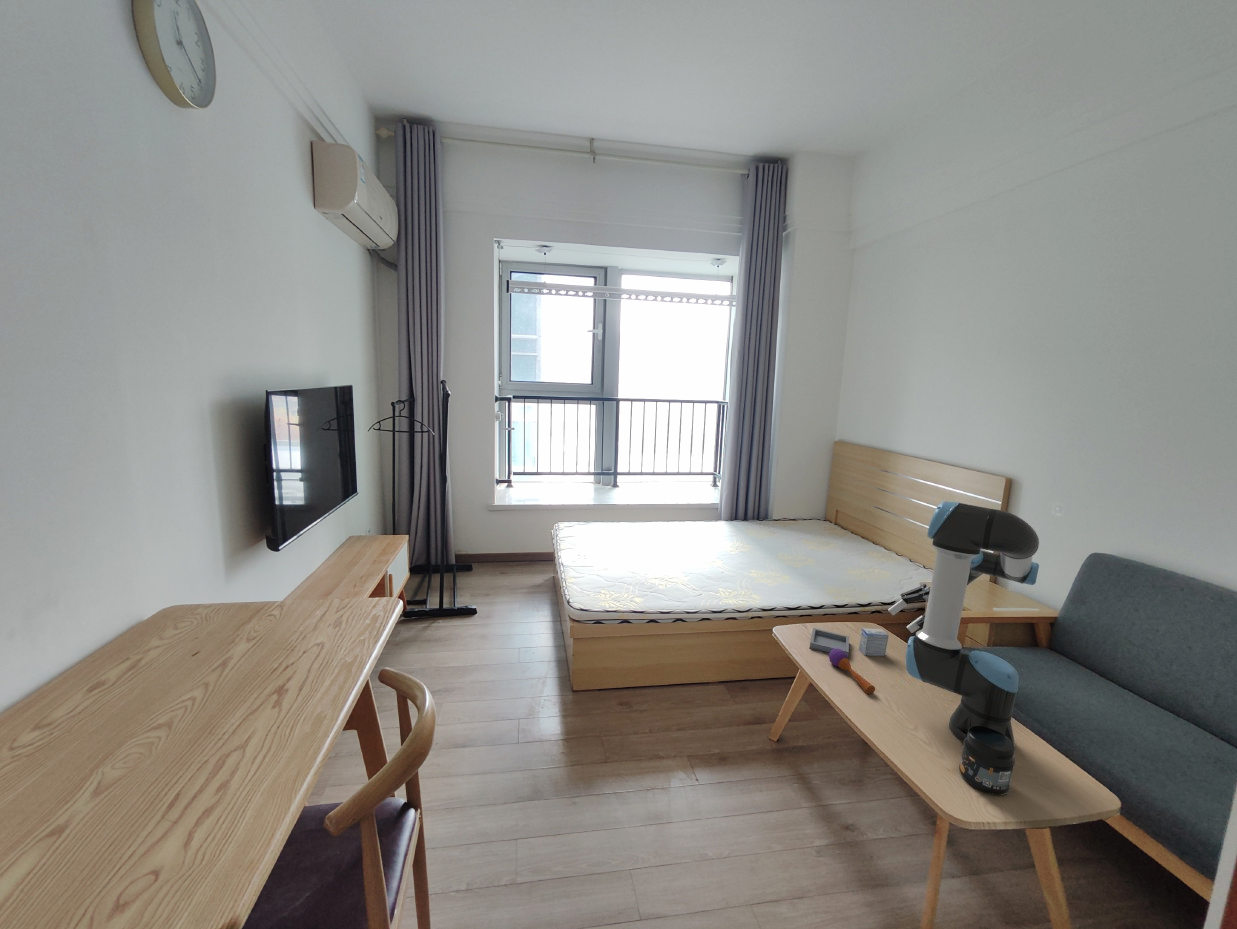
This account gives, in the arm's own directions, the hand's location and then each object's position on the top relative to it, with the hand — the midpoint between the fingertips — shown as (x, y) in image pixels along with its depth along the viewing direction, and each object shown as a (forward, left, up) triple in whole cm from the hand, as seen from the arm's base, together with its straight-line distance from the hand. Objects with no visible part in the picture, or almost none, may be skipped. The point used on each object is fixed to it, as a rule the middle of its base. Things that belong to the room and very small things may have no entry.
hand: (899, 621), depth 188 cm
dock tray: (-6, +22, -13) cm, 26 cm away
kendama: (-25, +15, -13) cm, 32 cm away
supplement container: (-60, -16, -13) cm, 64 cm away
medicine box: (-4, +8, -13) cm, 16 cm away
